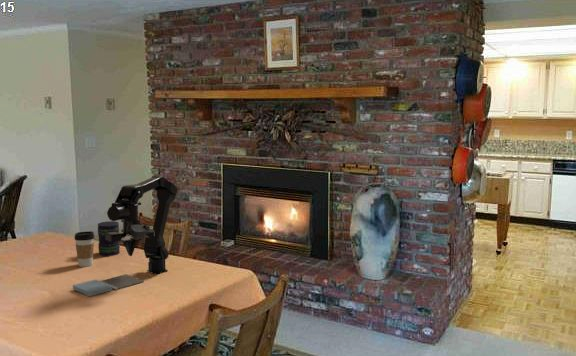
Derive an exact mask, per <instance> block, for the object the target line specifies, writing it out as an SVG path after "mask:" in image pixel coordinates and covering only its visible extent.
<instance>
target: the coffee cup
mask: <svg viewBox="0 0 576 356" xmlns="http://www.w3.org/2000/svg"><path fill="white" fill-rule="evenodd" d="M94 233H95V232H94V231H79V232H77V233H76V232H75V234H74V240H75V249H76V256H77V262H78V264H77V265H78V266H79V267H81V268H83V267H84V268H85V267H86V268H87V267H91V266H92V265H94V264H93V261H94V250H95V249H94V246H95V242H94V239H95V234H94Z"/></svg>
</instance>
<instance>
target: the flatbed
mask: <svg viewBox="0 0 576 356" xmlns="http://www.w3.org/2000/svg"><path fill="white" fill-rule="evenodd" d="M99 281H100V282H102V283H105V284H107V285H109V286H112V290H113V291H117V290H121V289H122V290H123V289H125V288H128V287H132V286H135V285H139V284H143V283H145V281H144V280H143V279H139V278H137V277H135V276H133V275H130V274H127V273H126V274H121V275H119V276H118V275H117V276H114V277H111V278H107V279H102V280H99Z"/></svg>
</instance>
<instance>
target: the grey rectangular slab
mask: <svg viewBox="0 0 576 356" xmlns="http://www.w3.org/2000/svg"><path fill="white" fill-rule="evenodd" d="M100 281H101V280H98V279H93V280H88V281H85V282H81V283H80V282H79V283H76V284H73V285H72V289H73V290H74V291H77V292H79V293H81V294H82V295H83V294H84V295H85V296H87V297H91V296H96V295H99V294H102V293H106V292H110V291H112V290H113V289H112V286H109V285H107V284H105V283H102V282H100Z"/></svg>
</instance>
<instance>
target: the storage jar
mask: <svg viewBox="0 0 576 356" xmlns="http://www.w3.org/2000/svg"><path fill="white" fill-rule="evenodd" d="M119 223H120V222H118V221H111V220H110V221H102V222H99V223H97V236H98V245H97V246H98V247H97V248H98V255H99V256H101V257H112V256H117V255H119V254H120V252H121V251H120V250H121V249H120V246H121V245H120V241H117V242H110V241H108V240H105V235H106V234H107V233H109V232H117V233H120V227H119V225H120V224H119Z"/></svg>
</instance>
